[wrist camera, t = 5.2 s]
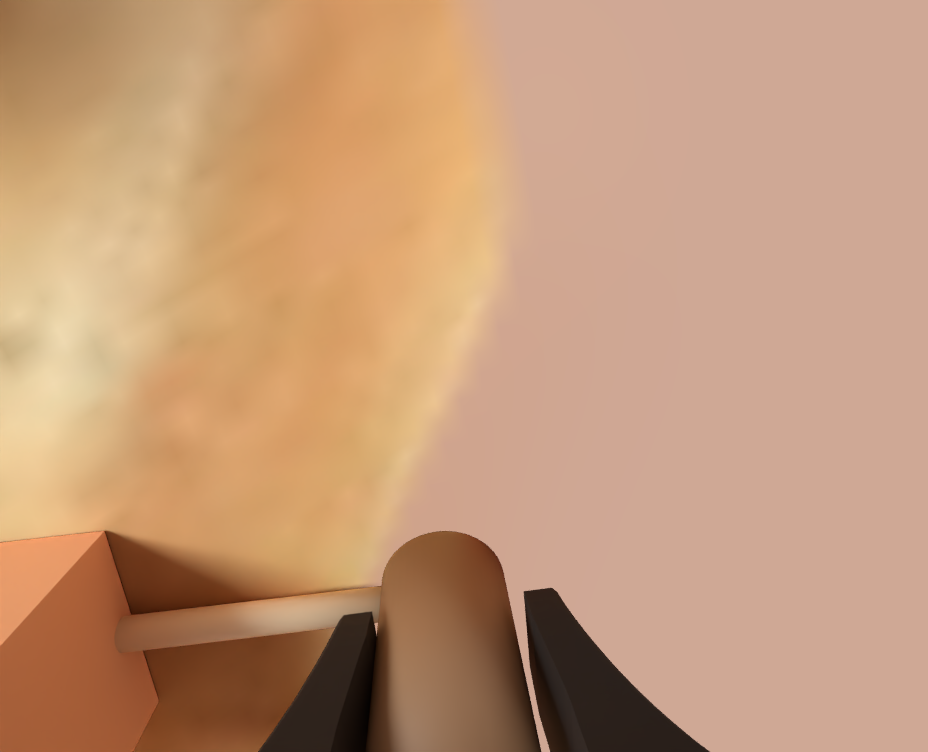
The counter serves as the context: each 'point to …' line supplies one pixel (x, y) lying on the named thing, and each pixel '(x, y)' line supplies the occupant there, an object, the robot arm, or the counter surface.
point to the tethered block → (126, 636)
